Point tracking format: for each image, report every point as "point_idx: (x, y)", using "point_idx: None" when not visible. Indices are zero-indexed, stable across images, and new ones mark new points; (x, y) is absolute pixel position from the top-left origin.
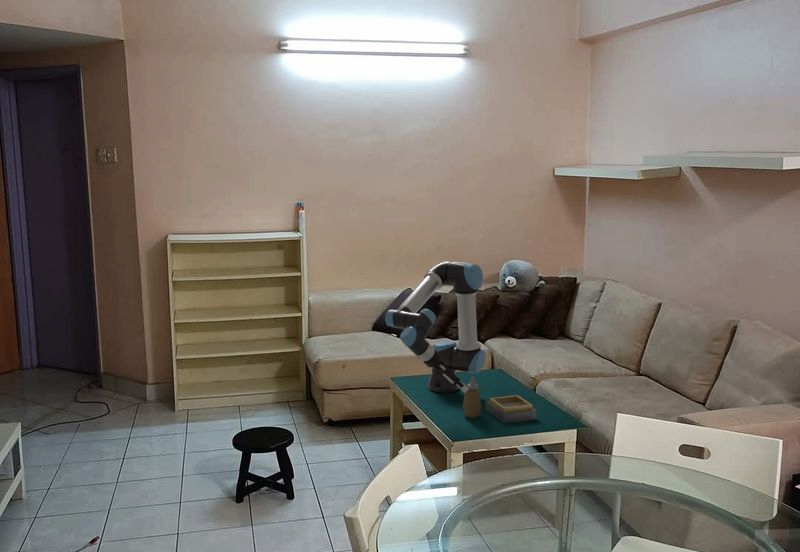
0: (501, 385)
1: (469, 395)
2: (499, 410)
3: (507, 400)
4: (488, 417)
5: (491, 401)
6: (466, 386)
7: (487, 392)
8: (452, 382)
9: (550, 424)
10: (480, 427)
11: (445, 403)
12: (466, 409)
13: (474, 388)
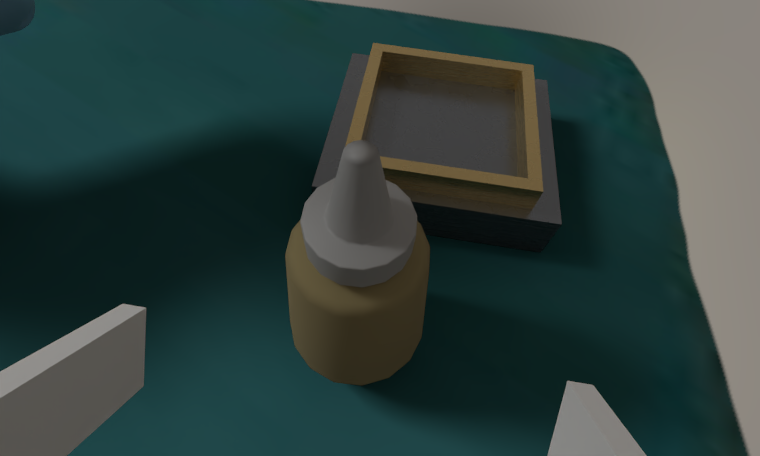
0: (105, 10)
1: (398, 321)
2: (487, 206)
3: (373, 100)
4: None
5: None
6: (618, 424)
7: (122, 85)
8: (134, 380)
9: (602, 106)
10: None
11: None
12: (377, 379)
13: (413, 243)
